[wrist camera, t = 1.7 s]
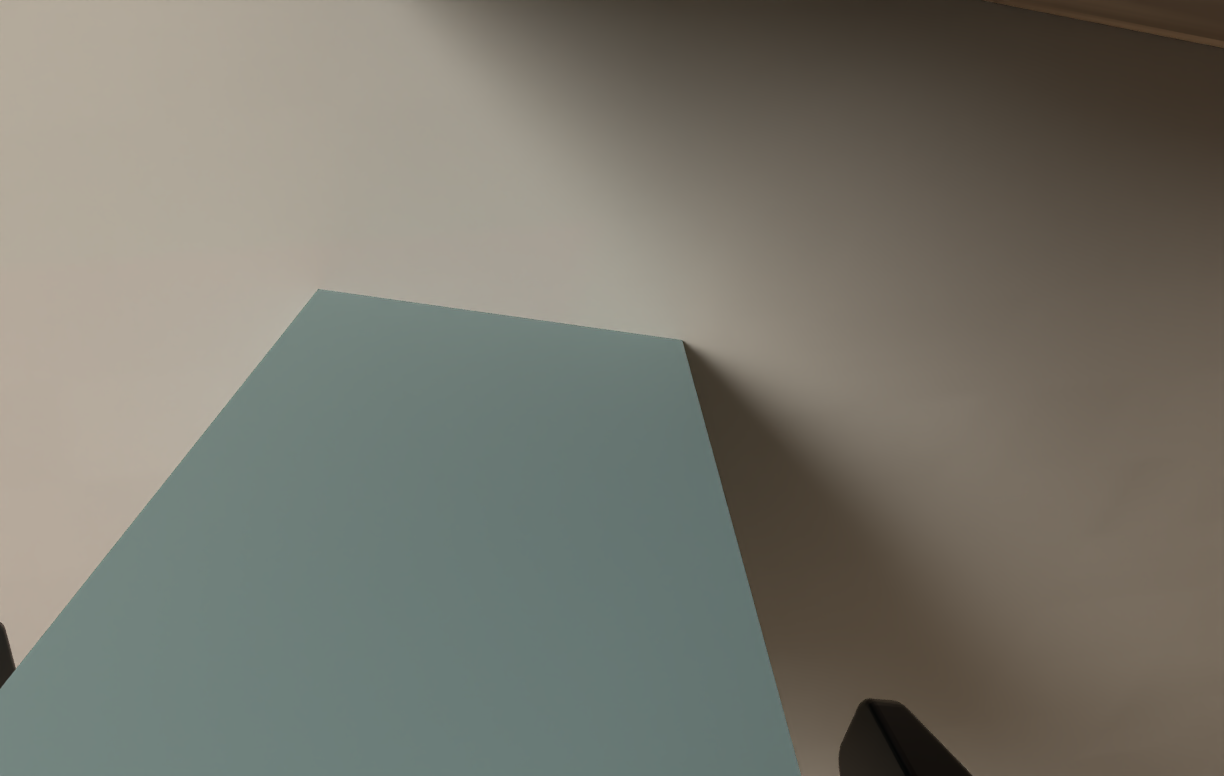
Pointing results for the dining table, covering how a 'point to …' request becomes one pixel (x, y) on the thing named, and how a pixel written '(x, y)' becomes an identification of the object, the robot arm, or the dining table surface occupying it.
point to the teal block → (421, 573)
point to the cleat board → (1142, 16)
